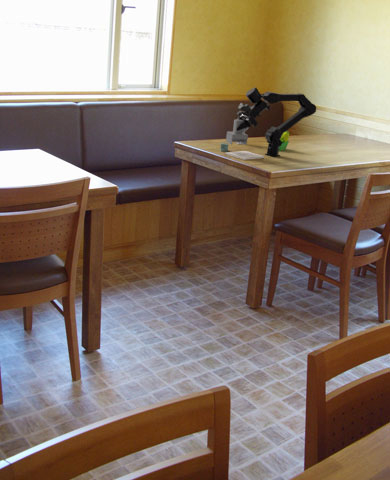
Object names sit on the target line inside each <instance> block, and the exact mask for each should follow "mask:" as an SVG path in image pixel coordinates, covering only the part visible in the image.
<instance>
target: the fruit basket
mask: <svg viewBox="0 0 390 480" xmlns="http://www.w3.org/2000/svg"><path fill="white" fill-rule="evenodd" d="M289 138H290V132H289V131H288V130H287V131H286V132H284V133H283V135H282V137H281V138H280V140H281V142H282V145H281V146H279V152H281V151H284V149H285V150H286V149H287V147H288V144H289V143H290V140H289Z"/></svg>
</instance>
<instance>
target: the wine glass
mask: <svg viewBox="0 0 390 480" xmlns="http://www.w3.org/2000/svg"><path fill="white" fill-rule="evenodd" d="M238 119H239V117H237V118H236V120H238ZM249 128H250V127H247V128H244V129H243V131H242V132H243V133H245V132H246V131H247V130H248V129H249ZM234 143H235V145H241V146H243V145H245V144H243V143H242V142H234ZM245 146H246V145H245Z"/></svg>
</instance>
